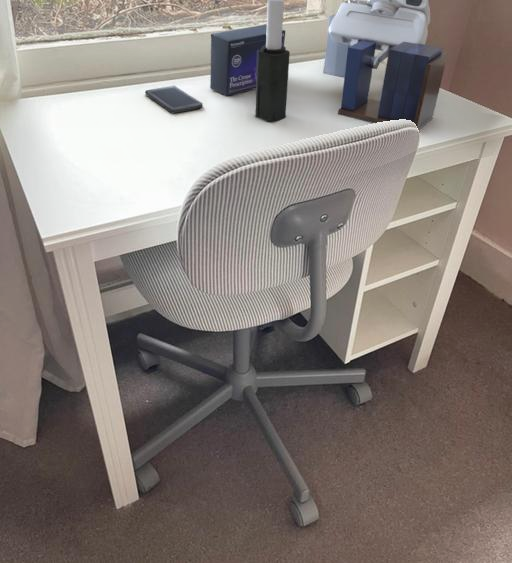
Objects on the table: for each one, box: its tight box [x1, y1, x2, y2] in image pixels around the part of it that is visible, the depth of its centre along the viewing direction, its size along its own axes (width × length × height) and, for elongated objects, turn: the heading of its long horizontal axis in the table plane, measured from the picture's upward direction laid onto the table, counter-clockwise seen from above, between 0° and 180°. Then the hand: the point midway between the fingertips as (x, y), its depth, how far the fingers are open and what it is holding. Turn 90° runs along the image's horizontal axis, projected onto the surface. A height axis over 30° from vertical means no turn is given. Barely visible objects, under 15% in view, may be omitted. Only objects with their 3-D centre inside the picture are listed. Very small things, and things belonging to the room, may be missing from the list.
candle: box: [254, 0, 291, 123], centre depth 102 cm, size 5×5×25 cm
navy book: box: [340, 41, 376, 111], centre depth 110 cm, size 3×7×12 cm, turn 147°
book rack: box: [337, 42, 449, 131], centre depth 107 cm, size 17×10×14 cm, turn 56°
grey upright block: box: [323, 13, 351, 78], centre depth 132 cm, size 6×8×13 cm
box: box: [209, 23, 286, 97], centre depth 121 cm, size 17×7×12 cm, turn 132°
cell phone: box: [144, 85, 204, 114], centre depth 115 cm, size 7×14×1 cm, turn 34°
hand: (362, 65), depth 110 cm, fingers open, 3 cm apart
